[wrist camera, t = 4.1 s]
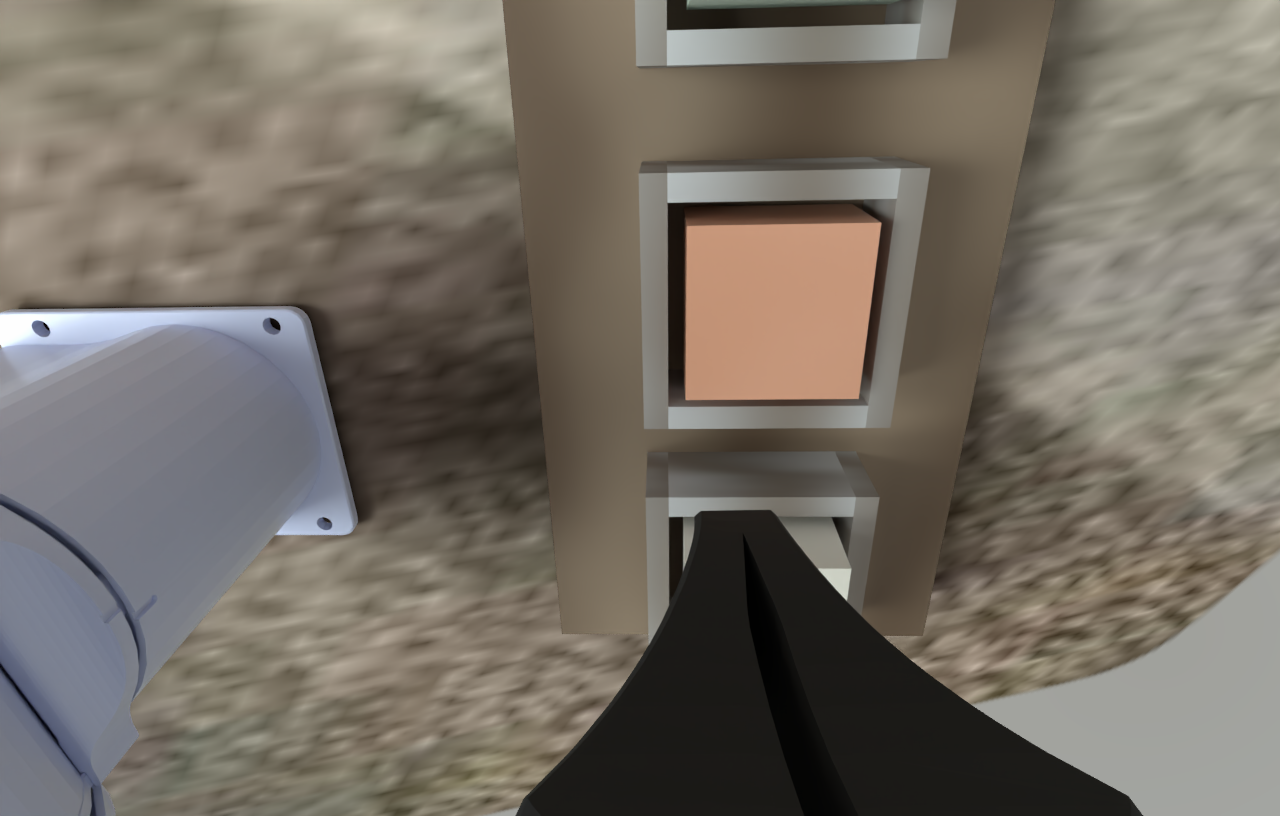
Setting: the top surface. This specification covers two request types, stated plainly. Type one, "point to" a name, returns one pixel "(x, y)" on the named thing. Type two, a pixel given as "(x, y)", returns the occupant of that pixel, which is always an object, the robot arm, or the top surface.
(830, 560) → the cream button
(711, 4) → the sage button
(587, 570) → the button board
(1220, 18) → the top surface
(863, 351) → the terracotta button
